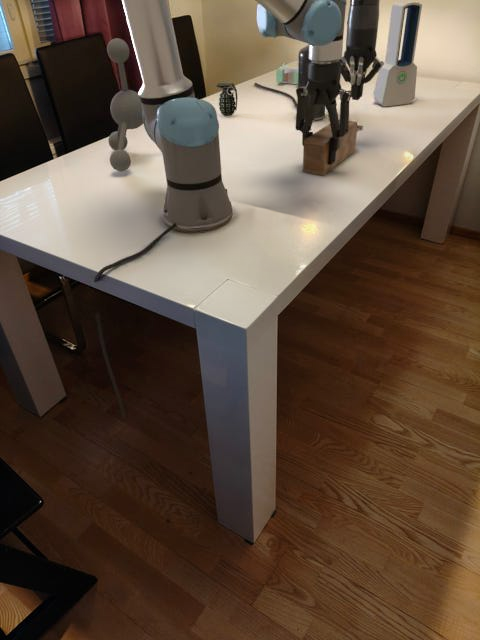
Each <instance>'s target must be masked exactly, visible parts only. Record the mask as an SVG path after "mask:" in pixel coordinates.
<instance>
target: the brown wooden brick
mask: <svg viewBox="0 0 480 640" xmlns="http://www.w3.org/2000/svg"><path fill="white" fill-rule="evenodd" d="M339 123H340V119H339ZM357 125H358V121H352V120H349V130H348V133H347V134H346V135H345V136H343V137H340V148H339V150H337V151H336V157H335V162H334V163H332V164H331V165H328V155H329V139H330V138H331V137H332V136H333V135H332V131H331V126H330V123H329V124H326V125H325V126H324V127H322V128H321V129H319V130H318V131H316V132H313V135H311V136H310V137H308V138H306V139H305V140H304V146H303V152H302V153H303V154H302V155H303V156H302V172H303V173H308V174H313V175H319V176H325V175H326V174H328V173H329V172H331V170H333V169H334V168H335V167H337V166H338V165H340V163H342V162H344V160H346V159H347V158H349V156H351V155H352V154H354V153H355V151H356V150H355V148H356V143H355V139H356V140H357V133H356V129H357Z"/></svg>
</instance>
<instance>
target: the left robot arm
mask: <svg viewBox="0 0 480 640" xmlns="http://www.w3.org/2000/svg"><path fill="white" fill-rule="evenodd" d="M255 1H256V2H257V7H256V25H257V28H258V31H259V34H260V36H262V37H263V38H274V39H276V38H278V37H279V38H280V37H284V38H285V37H286V38H289V39H292V40H296V41H299V42H302V43H305V44H307V45H309V60H311V61H310V62H309V64H308V84H307V86H301V87H299V88H298V87H297V88H296V89H295V93H296V99H298V100H297V101H296V102H297V111H296V114H295V130H296V131H299V132H301V134H302V139H301V140H302V141H301V145H302V146H303V147H304V140H305V139H306V138H308V137H310V136H311V135H313V134H314V132H313V131H312V125H313V123H314V121H315V120H314V117H315V114H316V111H317V108H318V105H319V104H322V105H325V111H327V115H328V120H329V124H330V126H331V131H332V135H333V136H332V137H331V138H330V139H329V155H328V165H331V164H332V163H334V162H335V157H336V151H337V150H339V148H340V137H343V136H345V135H346V134H347V133H348V130H349V121H350V101H351V99H352V97H351V95H352V92H351V90H346V89H344V88H342V85H341V77H342V75H341V64H342V63H341V61H339V60H340V59H341V58H342V57H343V48H344V34H345V23H346V22H345V20H346V7H347V0H255ZM121 2H122V5H123V6H122V7H123V10H124V13H125V17H126V23H127V26H128V29H129V34H130V37H131V41H132V45H133V49H134V52H135V56H136V60H137V64H138V68H139V72H140V77H141V79H142V85H141V87H140V88H139V91H138V94H139V97H140V101H141V105H142V109H143V124H142V125H143V127H144V130H145V132H146V134H147V136H148V137H149V139H150V140H151V141H152V142H153V143H154V144H155V145H156V147H157V148H158V149H159V151H160V152H161V154H162V159H163V168H164V173H165V180H166V190H165V191H166V192H165V196H164V203H163V207H162V218H163V222H164V224H165V226H167V227H168V228H166V229H165V230H164V231H163V232H162V233H161V234H160V235H158V236H157V237H156V238H154V240H152V241H151V242H150V243H149V244H148V245H146V246H145V247H144V248H143V249H141V250H140V251H138V252H136V253H134V254H132V255H129V256H126V257H123V258H121V259H119V260H117V261H115V262H113V263H110V264H109V265H108V264H107V265H105V266H103V267H102V268H101V269H99V271H98V272H97V274H96V276H95V277H94V280H93V282H94V283H97V282H99V281H100V278H101V277H102V275H103V274H104V273H105V272H106V271H108V270H111V269H113V268H115V267H117V266H120V265H122V264H124V263H127V262H129V261H131V260H134V259H136V258H138V257H140V256H142V255H144V254H145V253H146V252H148V251H149V250H150V249H151V248H153V246H154V245H156V244H157V243H158V242H159V241H160V240H161V239H163V238H164V237H165V236H166V235H167V234H168V233H170V232H171V231H172V230H173V231H177V232H180V233H190V234H191V233H192V234H193V233H194V234H195V233H196V234H197V233H205V232H206V233H207V232H210V231H215V230H216V229H220V228H222V227H224V226H226V225H227V224H228V223H230V221H231V220H232V218H233V216H234V212H233V211H234V210H233V205H232V201H231V200H230V197H229V195H228V189H227V188H226V187H225V184H224V182H223V175H222V174H223V173H222V161H221V147H220V146H221V145H220V133H219V131H220V124H219V119H218V114H217V110H216V108H215V106H214V105H213V104H212V103H211V102H209V101H207V100H205V99H203V98H202V99H201V98H200V99H199V98H197V97H196V95H195V91H194V86H193V82H192V80H191V79H189V78H188V77H186V76H185V75H184V73H183V67H182V61H181V57H180V52H179V48H178V43H177V38H176V32H175V29H174V28H175V27H174V24H173V18H172V14H171V13H172V12H171V8H170V4H169V0H121ZM307 91H308V92H307ZM307 93H309V95H310V97H311V100H310V103H309V109H308V112H307V115H306V119H305V110H306V95H307ZM338 96H339V100H340V104H339V113H338V109H337V108H338V107H337V105H338V104H337V98H338ZM313 120H314V121H313ZM339 120H340V123H339ZM95 321H96V325H97V333H98V337H99V342H100V346H101V349H102V355H103V357H104V361H105V364H106V368H107V371H108V374H109V378H110V380H111V383H112V386H113V389H114V392H115V395H116V399H117V401H118V405H119V408H120V412H121V416H122V419H123V420H125V419H126V418H127V416H126V412H125V407H124V405H123V401H122V397H121V395H120V391H119V387H118V385H117V382H116V378H115V375H114V373H113V369H112V367H111V363H110V359H109V356H108V352H107V349H106V344H105V339H104V335H103V330H102V329H103V328H102V322H101V315H100V312H95Z"/></svg>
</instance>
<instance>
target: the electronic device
mask: <svg viewBox="0 0 480 640" xmlns="http://www.w3.org/2000/svg"><path fill="white" fill-rule="evenodd" d="M422 8H423V4H421V2H420V3H419V2H416V1H408V0H399V1H396V2H394V3H392V4H391V11H390V17H389V18H390V19H389V28H388V35H387V43H386V50H385V51H386V52H385V58H384V59H385V60H384V61H383V62H384V65H383V66H382V67H381V69H380V70H379V71H378V72H377V77H376V81H375V85H374V89H373V100H374V101H375V103H376V104H378V105H381V106H383V107H384V108H385V107H393V106H400V105H408V104H412V103H413V102H414V100H415V99H416V88H417V86H416V85H417V75H418V74H417V72H418V66H417V65H416V63H414V60H415V55H416V48H417V42H418V33H419V28H420V21H421V16H422V15H421V14H422ZM405 14H406V17H405ZM404 20H405V24H404ZM403 28H404V29H403ZM403 31H404V32H403ZM402 36H403V38H402ZM401 43H402V46H401ZM400 51H401V52H400ZM399 57H400V59H399Z"/></svg>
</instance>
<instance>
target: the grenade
mask: <svg viewBox="0 0 480 640" xmlns="http://www.w3.org/2000/svg"><path fill="white" fill-rule="evenodd" d="M215 87H217V88H219V89H221V93H219V97H218V101H219V102H218V106H219V108H218V109H219V112H220V114H221V115H222V116H224V117H231V116H233V115H234V113H235V112H236V111H237V108H238V89H237V87H236V85H235V84H234V83H233V82H218V83H217V84H216V86H215ZM232 91H233V92H232ZM234 94H235V96H234Z"/></svg>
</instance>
